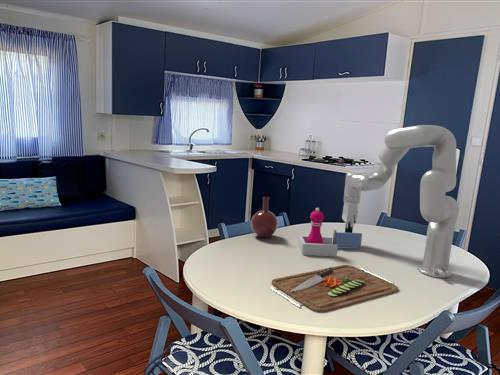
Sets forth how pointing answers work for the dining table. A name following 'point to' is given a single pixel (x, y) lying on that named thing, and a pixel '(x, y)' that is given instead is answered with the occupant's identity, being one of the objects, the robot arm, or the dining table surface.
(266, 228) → the round-bottom flask
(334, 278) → the chopping board
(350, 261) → the dining table surface
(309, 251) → the grey open box
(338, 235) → the panel
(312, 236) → the pepper mill
